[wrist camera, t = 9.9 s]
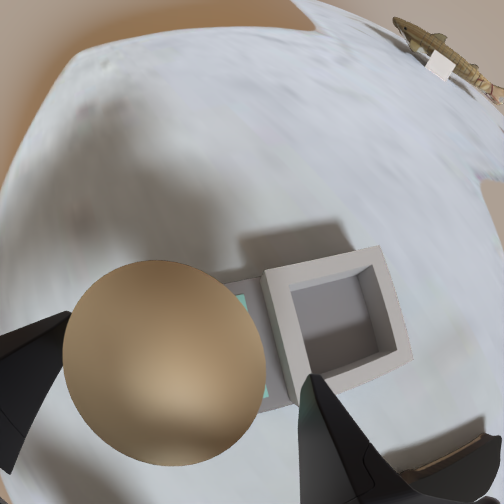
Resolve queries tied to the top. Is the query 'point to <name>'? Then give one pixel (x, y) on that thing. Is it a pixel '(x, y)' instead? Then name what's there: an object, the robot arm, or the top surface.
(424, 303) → the top surface
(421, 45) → the wood carving
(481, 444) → the black sponge
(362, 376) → the jig board
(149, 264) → the maple post
